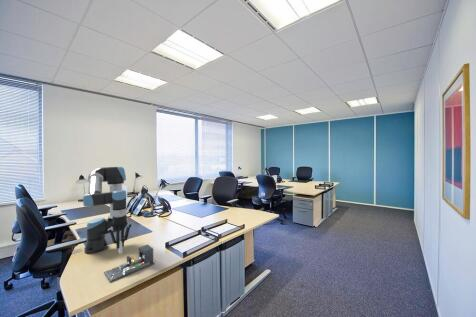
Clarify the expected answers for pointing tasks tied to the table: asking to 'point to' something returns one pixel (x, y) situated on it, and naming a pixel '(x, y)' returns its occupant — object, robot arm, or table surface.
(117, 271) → the gauge base
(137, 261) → the orange-striped grey block
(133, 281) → the table surface
